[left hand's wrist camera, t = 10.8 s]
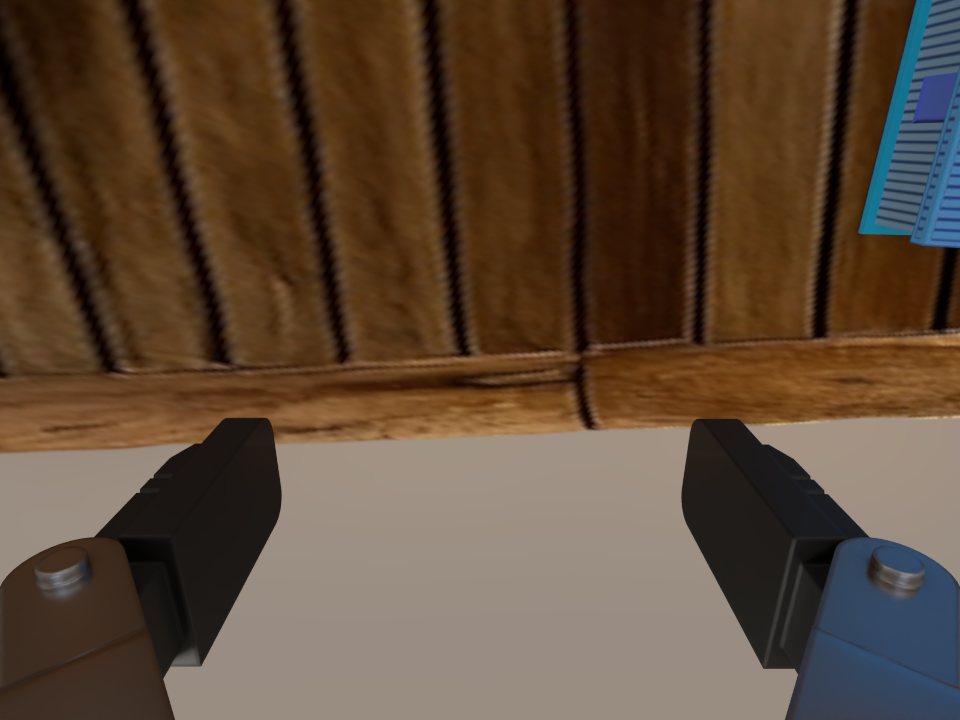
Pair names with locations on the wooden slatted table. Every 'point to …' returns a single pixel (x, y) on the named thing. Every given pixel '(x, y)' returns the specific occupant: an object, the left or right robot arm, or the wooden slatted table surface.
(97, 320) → the wooden slatted table surface
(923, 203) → the model building
